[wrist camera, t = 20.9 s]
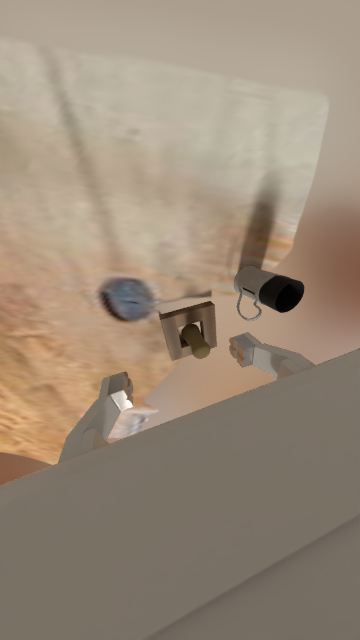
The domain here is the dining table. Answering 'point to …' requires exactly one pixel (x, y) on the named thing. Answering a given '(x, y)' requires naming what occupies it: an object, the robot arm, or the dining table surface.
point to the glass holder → (268, 289)
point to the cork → (195, 341)
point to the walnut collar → (185, 317)
